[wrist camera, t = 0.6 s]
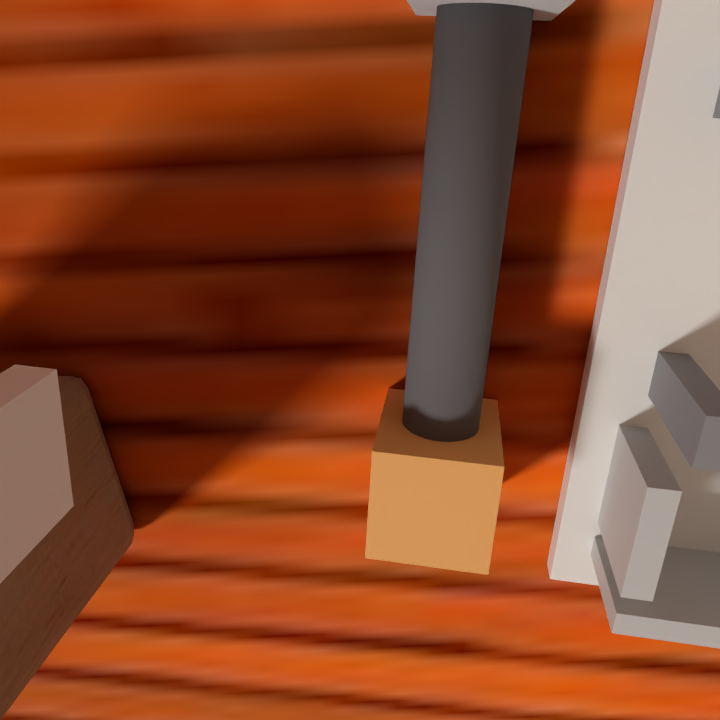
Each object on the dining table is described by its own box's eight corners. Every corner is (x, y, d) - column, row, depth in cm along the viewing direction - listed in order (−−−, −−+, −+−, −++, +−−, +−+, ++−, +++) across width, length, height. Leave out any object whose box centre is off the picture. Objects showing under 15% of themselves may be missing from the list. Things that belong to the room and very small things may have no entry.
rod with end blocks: (425, -110, 24) (413, -172, 19) (569, -108, 23) (600, -169, 18) (381, 480, 33) (365, 558, 28) (484, 493, 33) (488, 574, 27)
